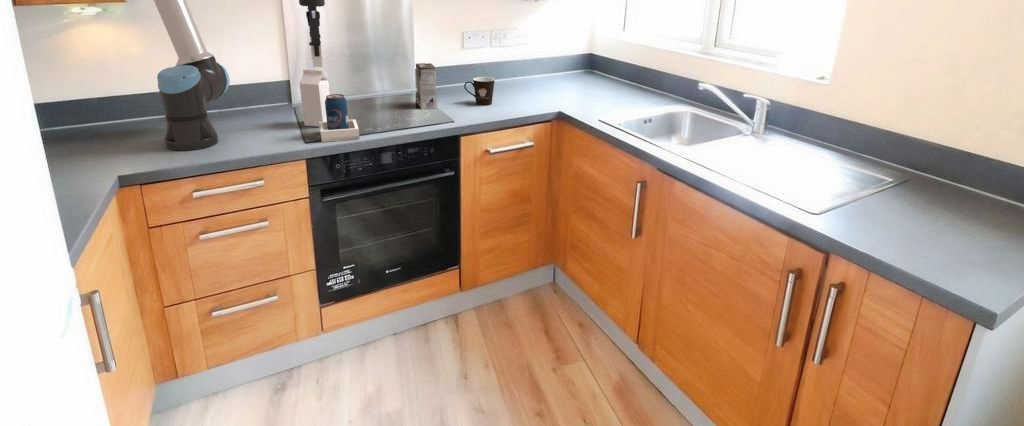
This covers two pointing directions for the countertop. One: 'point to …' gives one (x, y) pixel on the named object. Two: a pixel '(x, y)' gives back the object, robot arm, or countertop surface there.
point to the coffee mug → (482, 90)
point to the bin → (339, 132)
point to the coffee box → (426, 85)
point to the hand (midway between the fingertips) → (316, 62)
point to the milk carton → (314, 96)
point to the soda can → (336, 112)
